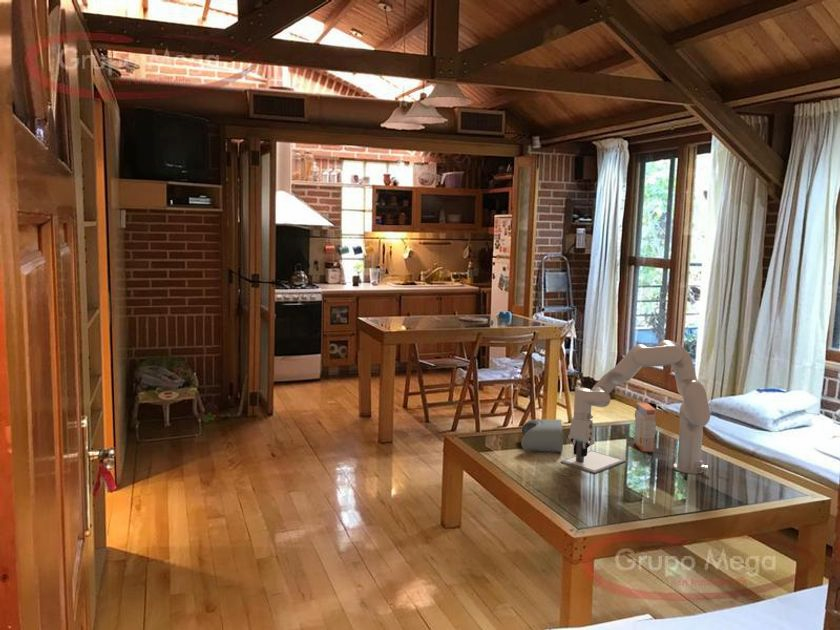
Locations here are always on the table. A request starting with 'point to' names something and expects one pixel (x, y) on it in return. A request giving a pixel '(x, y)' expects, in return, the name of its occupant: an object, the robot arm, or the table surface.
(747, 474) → the table surface
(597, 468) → the notepad
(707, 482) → the table surface
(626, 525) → the table surface
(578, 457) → the marker
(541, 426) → the grey rounded block
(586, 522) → the table surface
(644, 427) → the cracker box
